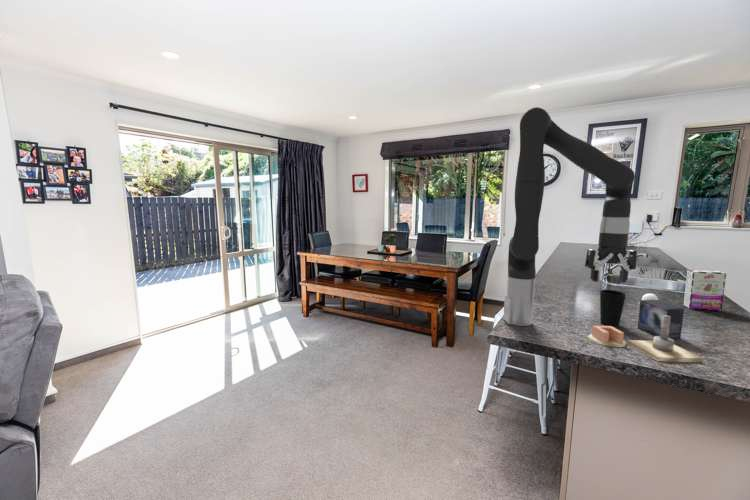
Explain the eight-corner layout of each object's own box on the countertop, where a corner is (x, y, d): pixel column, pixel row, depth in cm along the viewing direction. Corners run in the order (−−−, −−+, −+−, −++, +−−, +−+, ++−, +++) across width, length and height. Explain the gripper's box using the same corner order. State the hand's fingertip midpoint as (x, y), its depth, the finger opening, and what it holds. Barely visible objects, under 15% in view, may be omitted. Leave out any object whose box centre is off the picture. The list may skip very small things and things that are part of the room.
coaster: (600, 346, 103) (600, 345, 103) (582, 334, 113) (582, 333, 113) (633, 347, 102) (634, 346, 102) (612, 335, 112) (612, 334, 112)
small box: (635, 327, 120) (638, 299, 118) (652, 327, 120) (655, 299, 119) (663, 339, 109) (667, 308, 108) (681, 339, 110) (685, 308, 108)
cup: (626, 328, 118) (630, 295, 117) (602, 327, 120) (606, 294, 118) (615, 321, 126) (619, 290, 124) (593, 319, 127) (596, 289, 126)
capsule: (655, 315, 133) (657, 296, 132) (638, 312, 137) (640, 293, 136) (658, 313, 136) (660, 293, 135) (642, 309, 140) (644, 291, 139)
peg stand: (657, 361, 94) (661, 322, 92) (627, 343, 105) (630, 309, 104) (701, 362, 93) (707, 323, 92) (666, 344, 105) (670, 310, 103)
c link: (591, 335, 111) (592, 325, 110) (610, 336, 110) (611, 326, 110) (603, 343, 105) (604, 332, 104) (622, 343, 104) (624, 332, 104)
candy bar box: (713, 308, 143) (719, 270, 141) (721, 311, 138) (727, 272, 136) (681, 305, 146) (686, 269, 144) (688, 309, 142) (693, 271, 140)
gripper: (629, 231, 109) (623, 279, 111) (584, 230, 109) (579, 278, 112) (646, 233, 101) (639, 285, 103) (597, 232, 102) (592, 283, 104)
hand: (608, 281), depth 107 cm, fingers open, 8 cm apart
